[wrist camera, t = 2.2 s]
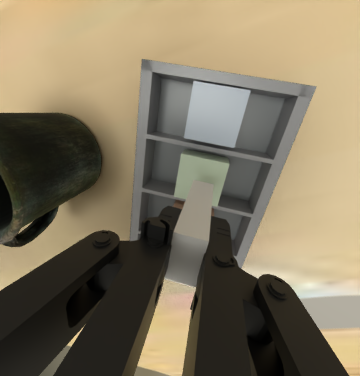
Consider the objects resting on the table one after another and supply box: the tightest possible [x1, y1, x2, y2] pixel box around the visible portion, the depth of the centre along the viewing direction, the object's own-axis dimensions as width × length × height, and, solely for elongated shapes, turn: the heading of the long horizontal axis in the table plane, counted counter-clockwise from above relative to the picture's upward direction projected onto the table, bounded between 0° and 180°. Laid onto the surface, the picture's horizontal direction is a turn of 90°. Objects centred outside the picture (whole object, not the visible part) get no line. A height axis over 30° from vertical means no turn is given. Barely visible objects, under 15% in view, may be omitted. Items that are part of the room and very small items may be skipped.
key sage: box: [174, 149, 230, 207], centre depth 18 cm, size 4×4×2 cm
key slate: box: [184, 81, 251, 148], centre depth 16 cm, size 4×4×2 cm
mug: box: [0, 113, 101, 247], centre depth 20 cm, size 11×15×12 cm
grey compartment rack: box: [130, 59, 316, 285], centre depth 21 cm, size 14×24×4 cm, turn 170°
